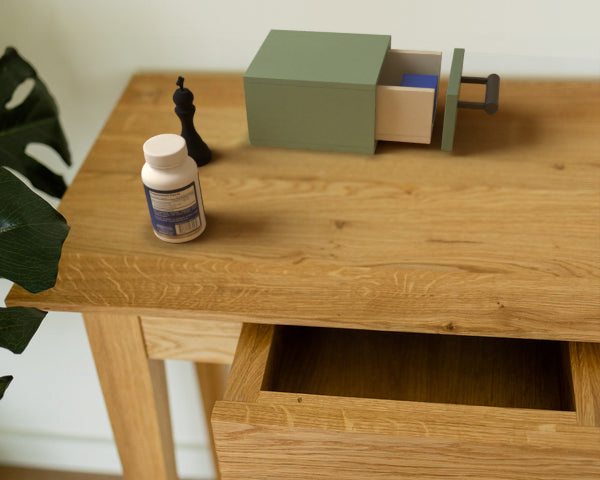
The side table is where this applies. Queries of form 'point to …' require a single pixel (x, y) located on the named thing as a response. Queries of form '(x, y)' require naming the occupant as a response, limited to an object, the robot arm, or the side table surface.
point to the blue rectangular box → (421, 84)
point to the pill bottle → (172, 189)
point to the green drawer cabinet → (315, 90)
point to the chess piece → (190, 125)
